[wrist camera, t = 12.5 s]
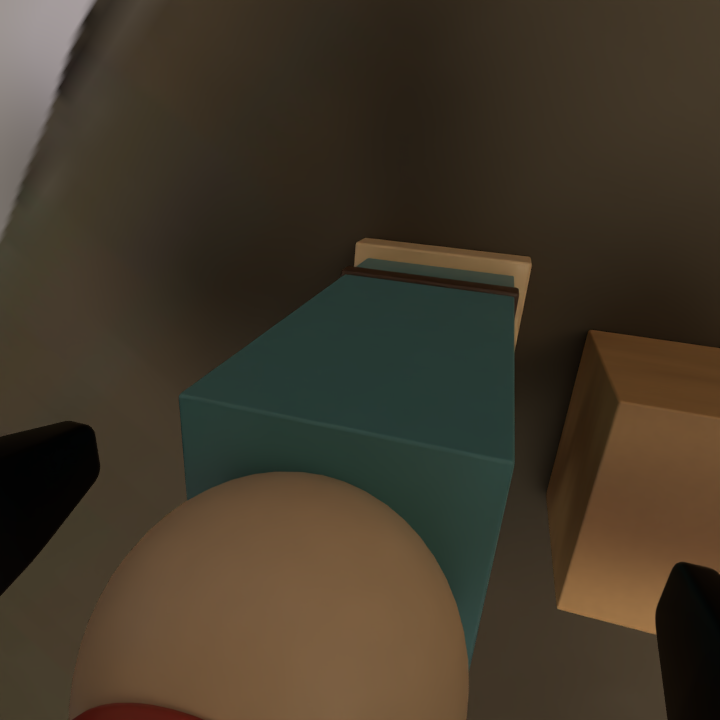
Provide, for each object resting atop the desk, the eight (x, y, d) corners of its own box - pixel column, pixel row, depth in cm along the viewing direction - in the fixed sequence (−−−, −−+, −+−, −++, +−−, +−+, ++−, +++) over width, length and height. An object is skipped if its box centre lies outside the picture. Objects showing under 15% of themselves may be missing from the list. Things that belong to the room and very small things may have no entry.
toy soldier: (450, 749, 13) (528, 2032, 2) (273, 690, 14) (-465, 1173, 3) (515, 315, 18) (657, -195, 6) (376, 295, 19) (273, -169, 7)
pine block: (781, 545, 16) (882, 695, 11) (545, 495, 17) (556, 609, 13) (870, 369, 13) (1040, 472, 9) (588, 328, 15) (618, 400, 11)
